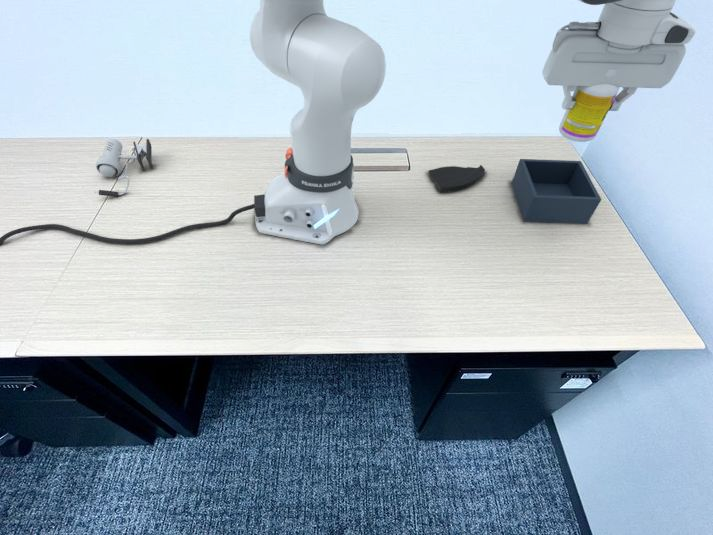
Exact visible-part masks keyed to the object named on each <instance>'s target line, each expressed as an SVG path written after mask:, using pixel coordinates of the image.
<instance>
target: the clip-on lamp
mask: <svg viewBox="0 0 713 535" xmlns="http://www.w3.org/2000/svg"><path fill="white" fill-rule="evenodd" d="M145 140H146V141H145V143H144V144H143V145H140V144H138V143H137V142H136V141H132V143H133V148H131V151H132V152H133V154H132V155H129V154H128V155H127V154H122V151H123V144H122V142H121V141H120V140H118V139H116V138H109V139H108V140H106V142H105V145H104V148H103V151H102V154H101V156H99V157H98V158H97V159H96V162H95V169H96V171H97V172H98V173H99V174H101V175H102V176H104V177H106V178H107V177H108V178H110V177H116V176H118V175H119V174H120V173H121V170H122V165H121V163H120V160H131V161H128V162H126V163H125V171H124V172H123V173H122V174H121V175H120V176H118V178H117V181H120V180H122V179H125V178H127V185H126V188H125V190H124V191H123V192H121V193H119V192H118V191H113V190H105V189H99V190H98V191H96V190H95V191H94V194H98V196H106V197H116V198H118V197H119V196H122V195H124V194H126V192H127V191H128V189H129V186H130V177H129V175H126V174H127V173H128V170H129V167H128V165H132V164H133V163H135V161H136V160H137V162H138V164H139V166H140V168H141V170H142V171H143V172H144V171H146V170H145V169H146V168H145V166H144V164H143V161H144V159H146V162H147V163H148V165H149V168H150V169H151V170H153V169H154V165H153V161H152V160H153V158H152V157H153V154H152V152H153V150H152V144H151V141H150V138H146V139H145Z"/></svg>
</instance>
